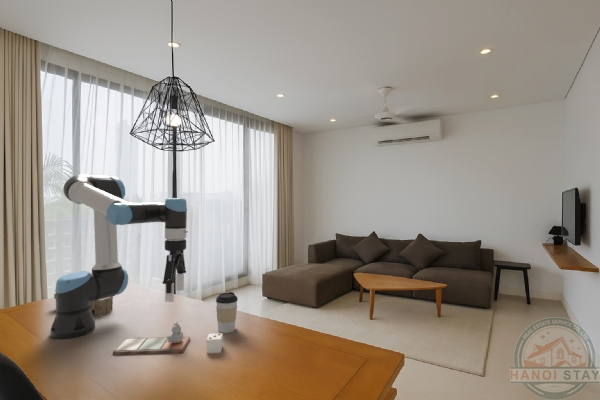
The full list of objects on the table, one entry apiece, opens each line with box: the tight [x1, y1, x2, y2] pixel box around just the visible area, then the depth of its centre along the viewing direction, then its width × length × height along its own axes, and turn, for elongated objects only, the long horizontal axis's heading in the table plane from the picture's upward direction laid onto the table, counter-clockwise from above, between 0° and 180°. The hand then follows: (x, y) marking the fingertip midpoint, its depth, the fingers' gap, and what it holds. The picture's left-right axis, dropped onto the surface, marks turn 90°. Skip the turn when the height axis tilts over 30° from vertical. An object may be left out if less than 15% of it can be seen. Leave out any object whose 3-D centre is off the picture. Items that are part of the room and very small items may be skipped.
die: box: [206, 332, 224, 354], centre depth 120 cm, size 5×5×5 cm
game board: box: [112, 336, 191, 356], centre depth 122 cm, size 24×11×1 cm, turn 96°
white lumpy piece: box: [167, 321, 184, 343], centre depth 122 cm, size 5×7×8 cm
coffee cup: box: [215, 291, 238, 334], centre depth 138 cm, size 9×9×15 cm
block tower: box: [53, 292, 114, 317], centre depth 159 cm, size 8×8×29 cm
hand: (174, 295), depth 123 cm, fingers open, 13 cm apart
